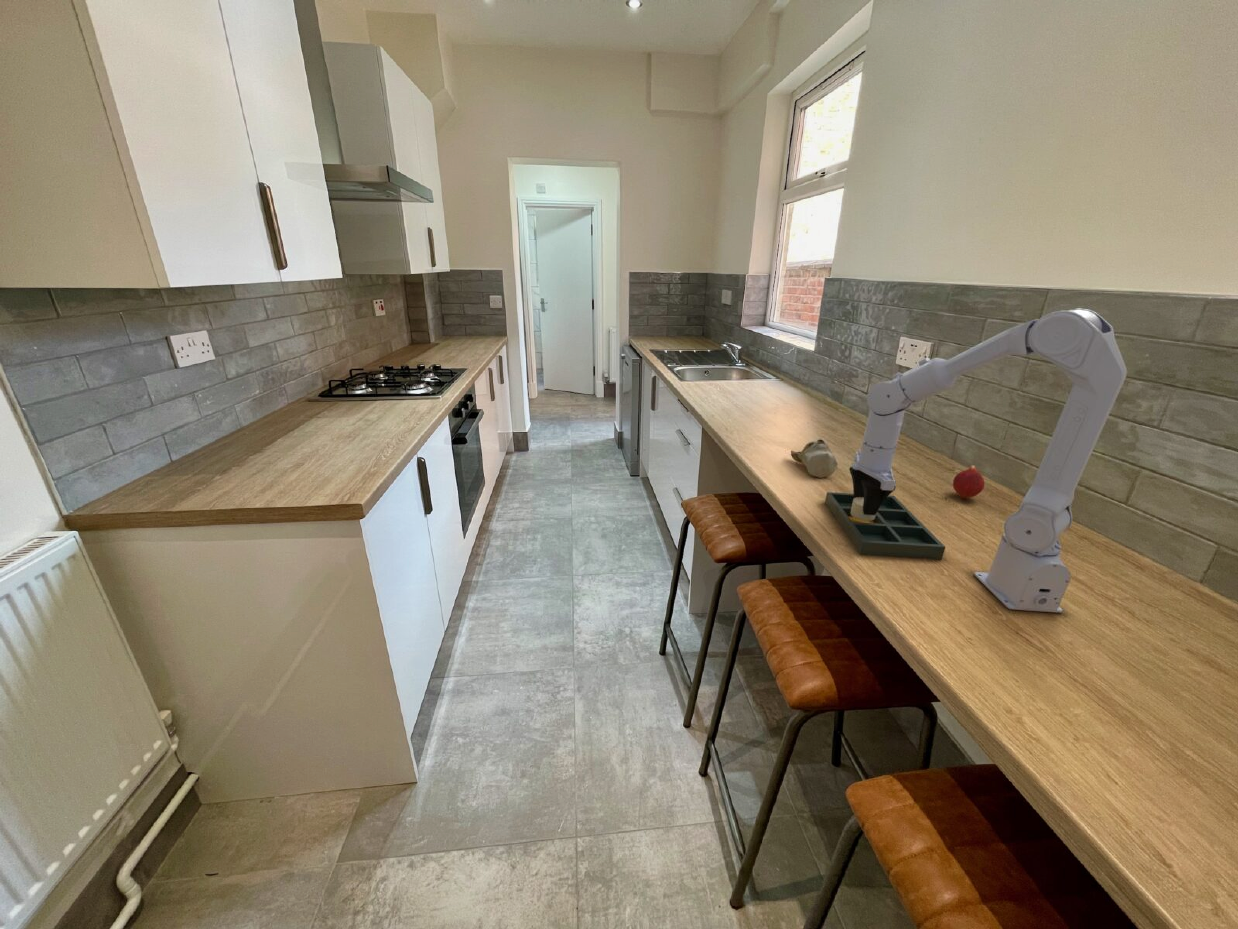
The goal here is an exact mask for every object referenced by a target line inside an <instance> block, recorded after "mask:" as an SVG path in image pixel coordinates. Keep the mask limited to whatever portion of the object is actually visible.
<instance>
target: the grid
mask: <svg viewBox="0 0 1238 929" xmlns="http://www.w3.org/2000/svg"><path fill="white" fill-rule="evenodd" d="M853 499H854V494H853V493H851V492H850V493H849V492H830V491H829V492H828V491H827V492H826V495H825V500H824V504H825V505H826V507H827V508H828V510H829V511H830V513H831V514H832V515H833V517H834V519H835V520H836V521H837V523H838V524H839V526H840V527H841V529H842V530H843V532H844V533H845V535H846V536H847V537H848V539H849V541H851V543H852V545H853V546H854V548H855V549H856V550H857V552H858V554H860V555H864V556H865V555H866V556H882V557H884V556H885V557H899V558H915V559H917V558H918V559H931V560H932V559H933V560H943V557H944V554H945V551H946V546H945V545H944V544H943V543H942V542H941V541H940V539H938V538H937V537H936V536H935V534H934V533H932V532H931V531H930V530H929V529H928V528H927V527H926V526H925V525H924V524H923V523H922V522H921V521H920V519H918V518H917V517H916V515H914V514H913V512H911V511H910V510H909V509H908V508H907V507H906V506H905V505H904V504H903V503H902V502H901V501H900V500H899V499H898V497H896V496H895V495H888V497H887V498H886V499H885V500H884V501H883V503H882V504H881V506H880V508H879V510H878V511H877V513H876V516H875V519H874V520H871V521H865V520H860V519H857V518H855V517H853V516H852V515H851V513H850V512H851V508H852V503H853Z"/></svg>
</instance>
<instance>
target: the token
mask: <svg viewBox="0 0 1238 929" xmlns="http://www.w3.org/2000/svg"><path fill="white" fill-rule="evenodd" d="M863 502H864V497H856V498H854V499H853V503H852V508H851V512H850V513H851V515H852V516H853V517H855V518H857V519H860V520H865V521H871V520H874V519H875V516H876V514H875V515H865V514H864V513H863Z"/></svg>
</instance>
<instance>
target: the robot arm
mask: <svg viewBox="0 0 1238 929" xmlns="http://www.w3.org/2000/svg"><path fill="white" fill-rule="evenodd" d="M1031 354H1036V355H1038V356H1039V357H1041V358H1042V359H1045V360H1046V361H1048V362H1049V363H1052V364H1054V365H1055V366H1058V368H1059V369H1060V370H1061V371H1062V372H1063V373H1064V374H1065V376H1066V377H1067V378H1068V379H1069V380H1070V381H1071V383H1072V387H1071V390H1070V392H1069V395H1068V396H1067V399H1066V402H1065V404H1064V407H1063V409H1062V412H1061V414H1060V416H1059V419H1058V421H1057V424H1056V426H1055V428H1054V431H1053V433H1052V436H1051V439H1050V440H1049V443H1048V445H1047V448H1046V450H1045V453H1044V455H1043V457H1042V460H1041V462H1040V465H1039V467H1038V469H1037V472H1036V475H1035V477H1034V479H1033V481H1032V484H1031V486H1030V488H1029V489H1028V491H1027V492H1026V494H1025V496H1024V497H1023V499H1022V501H1021V503H1020V505H1019V507H1018V509H1017V510H1016V511H1015V512H1014V513H1012V514H1011V515H1009V516H1008V517H1007V518H1006V519H1005V521H1004V524H1003V533H1002V535H1001V537H1000V540H999V543H998V546H997V549H996V552H995V554H994V556H993V559H992V563H991V565H990V569H989V571H988V572H983V571H975V572H973V575H974V576H975V577H976V578H977V579H978V580H979V581H980V582H981V584H983V585H984V586H985V587H986V589H987V590H989V591H990V592H991V593H992V594H993V595H994V597H996V598H997V599H998V600H999V601H1000V602H1001V604H1003V605H1004V606H1005V607H1006V608H1007V609H1009V610H1017V611H1030V612H1031V611H1033V612H1046V613H1059V614H1060V613H1062V612H1063V608H1061V606H1060V604H1061V602H1062V600H1063V598H1064V595H1065V593H1066V590H1067V589H1068V587H1069V585H1070V584H1069V583H1070V581H1071V576H1072V575H1071V572H1070V570H1069V569H1068V567H1067V566H1066V565H1065V564H1064V563H1063V561H1062V558H1061V551H1062V548H1063V547H1062V546H1061V543H1060V539H1059V538H1060V536H1061V535H1062V534H1064V532H1066V531H1067V530H1068V529H1070V527H1071V526H1072V523H1073V513H1072V503H1073V501H1074V499H1075V491H1076V488H1077V487H1078V484H1079V483H1080V480H1081V478H1082V475H1083V473H1084V470H1085V468H1086V467H1087V464H1088V462H1089V459H1090V457H1091V455H1092V453H1093V451H1094V449H1095V446H1096V445H1097V442H1098V440H1099V438H1100V436H1101V433H1102V431H1103V429H1104V427H1105V424H1106V422H1107V420H1108V418H1109V416H1110V413H1111V411H1112V409H1113V406H1114V405H1115V403H1116V400H1117V398H1118V396H1119V393H1120V391H1121V389H1122V388H1123V385H1124V382H1125V381H1126V378H1127V373H1128V369H1127V366H1126V364H1125V361H1124V358H1123V356H1122V353H1121V350H1120V348H1119V345H1118V342H1117V340H1116V337H1115V331H1114V326H1112V325H1111V324H1110V323H1109V322H1108V321H1107V320H1106V319H1105V318H1104V317H1102V316H1101V315H1100V314H1099V313H1098V312H1096V311H1094V310H1091V309H1087V308H1072V309H1068V310H1057V311H1053V312H1049V313H1047V314H1045V315H1043V316H1041V317H1040V318H1037V319H1032V320H1029V321H1026V322H1023V323H1020V324H1018V325H1016V326H1013V327H1010V328H1008V329H1006V330H1004V331H1002V332H1000V333H997V334H996V335H994V336H991V337H990V338H988V339H986V340H984V341H982V342H981V343H978V344H977V345H974V346H972V347H971V348H969V349H966V350H964V351H962V352H961V353H959V354H957V355H955V356H953V357H951V358H949V359H945V358H941V357H933V358H931V359H930V358H929V357H925V358H923V359H921V360H918V365H917V366H915V367H913V368H911V369H908V370H907V371H905V372H903V373H901V372H897V373H895V374H893V375H892V380H887V381H880V382H877V383H876V384H875V385H874V386H872V387H871V388H870V389H869V390H868V393H867V395H866V403H867V406H868V407H869V412H868V417H867V421H866V425H865V430H864V434H863V438H862V443H861V447H860V451H855V453H854V457H853V461H854V462H851V466H850V467H849V473H850V476H851V480H852V487H853V488H852V490H853V493H852V494H854V498H856V497H864V502H863V513H864V514H865V515H875V514H876V513H877V511H878V510H879V508H880V506H881V504H882V503H883V501H884V500H885V499H886V498H887V497H888V496H891V494H892V493H893V492H894V491H896V488H897V487H896V486H897V485H896V483H897V481H896V480H895V478H894V474H893V472H894V471H893V468H892V466H893V462H894V458H895V455H896V454H895V453H896V451H897V446H898V442H899V438H900V434H901V429H902V426H903V420H904V417H905V412H906V410H907V409H909V408H910V407H911V406H912V405H914V404H917V403H920V402H922V401H924V400H927V399H929V398H932V397H934V396H936V395H938V394H941V393H944V392H946V391H948V390H950V389H952V388H953V387H954V386H955V383H956V380H957V379H958V377H960V376H962V375H965V374H967V373H969V372H972V371H974V370H976V369H979V368H982V367H985V366H986V365H989V364H991V363H994V362H996V361H998V360H1001V359H1003V358H1005V357H1007V356H1010V355H1011V356H1028V355H1031Z"/></svg>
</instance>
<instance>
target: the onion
mask: <svg viewBox="0 0 1238 929" xmlns="http://www.w3.org/2000/svg"><path fill="white" fill-rule="evenodd" d="M952 487H953V489H954V491H955V492H956V494H957V495H958V496H960V498H961V499H969V498H973V497H975V496H978V495H979V494H980V493H982V491H983V490H984V488H985V479H984V477H983V475H982V474H981V473H980V472H979V471H978V470H977V467H976V466H975V465H970V467H969V469H965V470H962V471H960V472H959V473H957V474H955V476H954V478H953V480H952Z"/></svg>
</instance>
